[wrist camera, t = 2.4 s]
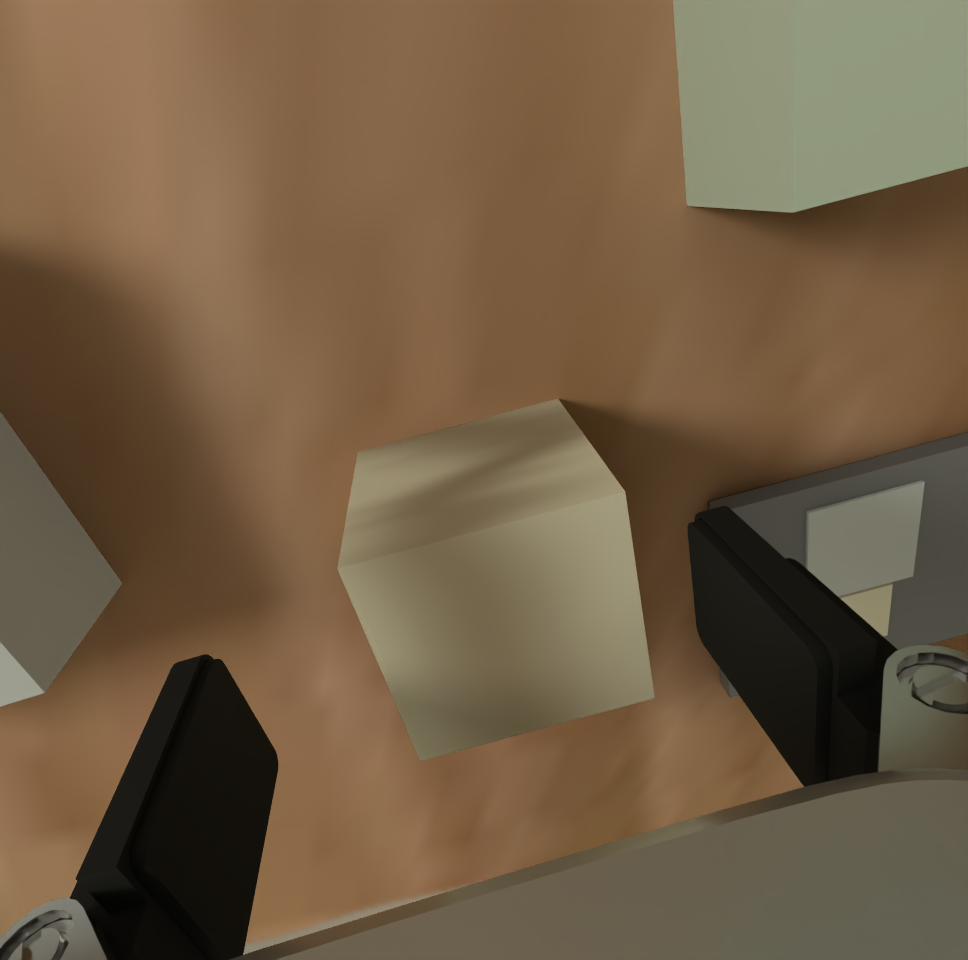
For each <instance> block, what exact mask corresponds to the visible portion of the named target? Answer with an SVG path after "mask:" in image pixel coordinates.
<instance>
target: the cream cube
mask: <svg viewBox="0 0 968 960" xmlns="http://www.w3.org/2000/svg"><path fill="white" fill-rule="evenodd" d="M337 569H338V571H339V574H340V576H341V578H342V581H343V583H344V585H345V588H346V590H347V592H348V595H349V597H350V599H351V602H352V604H353V606H354V609H355V611H356V613H357V615H358V618H359V620H360V622H361V625H362V627H363V629H364V632H365V634H366V636H367V639H368V641H369V643H370V646H371V648H372V650H373V653H374V655H375V657H376V660H377V662H378V664H379V666H380V669H381V671H382V673H383V676H384V678H385V680H386V683H387V685H388V687H389V690H390V692H391V694H392V697H393V699H394V701H395V704H396V706H397V708H398V710H399V713H400V715H401V717H402V720H403V722H404V724H405V727H406V729H407V731H408V734H409V736H410V738H411V741H412V743H413V745H414V748H415V750H416V752H417V755H418V757H419V759H420V761H422V760H426V759H430V758H434V757H437V756H441V755H445V754H448V753H452V752H456V751H460V750H463V749H467V748H471V747H475V746H478V745H482V744H486V743H489V742H493V741H497V740H501V739H504V738H508V737H512V736H516V735H519V734H523V733H527V732H530V731H534V730H538V729H542V728H545V727H549V726H553V725H557V724H560V723H564V722H568V721H571V720H575V719H579V718H583V717H586V716H590V715H594V714H598V713H601V712H605V711H609V710H612V709H616V708H620V707H624V706H627V705H631V704H635V703H639V702H642V701H646V700H650V699H653V698H655V696H654V689H653V682H652V675H651V668H650V661H649V654H648V647H647V640H646V633H645V626H644V619H643V612H642V605H641V599H640V592H639V585H638V578H637V571H636V564H635V557H634V550H633V543H632V536H631V529H630V522H629V515H628V508H627V501H626V494H625V491H624V489H623V488H622V486H621V485H620V484H619V482H618V481H617V480H616V478H615V477H614V475H613V474H612V473H611V471H610V470H609V468H608V467H607V466H606V464H605V463H604V462H603V460H602V459H601V457H600V456H599V455H598V453H597V452H596V450H595V449H594V448H593V446H592V445H591V444H590V442H589V441H588V439H587V438H586V437H585V435H584V434H583V432H582V431H581V430H580V428H579V427H578V426H577V424H576V423H575V421H574V420H573V419H572V417H571V416H570V414H569V413H568V412H567V410H566V409H565V408H564V406H563V405H562V403H561V402H560V401H559V399H554V400H550V401H546V402H543V403H539V404H535V405H531V406H528V407H524V408H520V409H516V410H513V411H509V412H505V413H502V414H498V415H494V416H490V417H487V418H483V419H479V420H475V421H472V422H468V423H464V424H460V425H457V426H453V427H449V428H446V429H442V430H438V431H434V432H431V433H427V434H423V435H419V436H416V437H412V438H408V439H404V440H401V441H397V442H393V443H390V444H386V445H382V446H378V447H375V448H371V449H367V450H363V451H360V452H358V454H357V459H356V465H355V471H354V476H353V482H352V488H351V494H350V499H349V505H348V511H347V516H346V522H345V528H344V533H343V539H342V545H341V551H340V556H339V562H338V568H337Z"/></svg>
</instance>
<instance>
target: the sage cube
mask: <svg viewBox="0 0 968 960" xmlns="http://www.w3.org/2000/svg"><path fill="white" fill-rule="evenodd" d="M673 7H674V22H675V37H676V51H677V66H678V81H679V95H680V110H681V125H682V139H683V154H684V169H685V183H686V198H687V206H697V207H713V208H728V209H744V210H760V211H775V212H791V213H794V212H797V211H801V210H805V209H809V208H812V207H816V206H820V205H824V204H827V203H831V202H835V201H839V200H843V199H846V198H850V197H854V196H858V195H861V194H865V193H869V192H873V191H876V190H880V189H884V188H888V187H892V186H895V185H899V184H903V183H907V182H910V181H914V180H918V179H922V178H925V177H929V176H933V175H937V174H940V173H944V172H948V171H952V170H956V169H959V168H963V167H967V166H968V0H673Z"/></svg>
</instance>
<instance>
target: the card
mask: <svg viewBox="0 0 968 960" xmlns="http://www.w3.org/2000/svg"><path fill="white" fill-rule="evenodd" d="M720 506H727V507H729V508H730V509H731V510H732V511H734V512H735V513H736V514H737V515H738V516H739V517H740V518H741V519H742V520H743V521H745V522H746V523H747V524H748V525H749V526H750V527H751V528H752V529H753V530H754V531H756V532H757V533H758V534H759V535H760V536H761V537H762V538H763V539H764V540H765V541H767V542H768V543H769V544H770V545H771V546H772V547H773V548H774V549H775V550H777V551H778V552H779V553H780V554H781V555H782V556H783V557H784V558H785V559H786V558H792V559H795V560H796V561H798V562H799V563H801V564H802V565H803V566H804V567H805V568H806V569H807V570H809V571H810V572H811V573H812V574H813V575H814V576H815V577H817V578H818V579H819V580H820V581H821V582H822V583H823V584H824V585H826V586H827V587H828V588H829V589H830V590H831V591H832V592H833V593H835V594H836V595H837V596H838V597H839V598H840V599H841V600H842V601H844V602H845V603H846V604H847V605H848V606H849V607H850V608H852V609H853V610H854V611H855V612H856V613H857V614H858V615H859V616H861V617H862V618H863V619H864V620H865V621H866V622H867V623H868V624H870V625H871V626H872V627H873V628H874V629H875V630H876V631H877V632H879V633H880V634H881V635H882V636H883V637H884V638H885V639H887V640H888V641H889V642H890V643H891V644H892V645H893V646H894V647H896V648H897V649H898V650H901V649H903V648H906V647H908V646H917V645H928V644H932V643H935V642H939V641H943V640H947V639H950V638H954V637H958V636H961V635H965V634H968V432H967V433H963V434H959V435H956V436H952V437H948V438H944V439H941V440H937V441H933V442H929V443H926V444H922V445H918V446H915V447H911V448H907V449H903V450H900V451H896V452H892V453H888V454H885V455H881V456H877V457H873V458H870V459H866V460H862V461H859V462H855V463H851V464H847V465H844V466H840V467H836V468H832V469H829V470H825V471H821V472H817V473H814V474H810V475H806V476H803V477H799V478H795V479H791V480H788V481H784V482H780V483H776V484H773V485H769V486H765V487H761V488H758V489H754V490H750V491H747V492H743V493H739V494H735V495H732V496H728V497H724V498H720V499H717V500H713V501H709V510H710V509H713V508H717V507H720ZM720 677H721V684H722V686H723V688H724V689H725V691H726V692H727V694H728V695H729V697H730V698H731V697H734V696H738V695H739V694H738V693H737V691H736V690H735V688H734V687H733V686H732V684H731V683H730V681H729V680H728V679H727V677H726V676H725V674H724V673H723V672H722V670H721V669H720Z"/></svg>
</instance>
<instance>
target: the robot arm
mask: <svg viewBox="0 0 968 960" xmlns="http://www.w3.org/2000/svg"><path fill="white" fill-rule="evenodd" d="M688 539H689V550H690V561H691V571H692V582H693V593H694V604H695V614H696V625H697V630H698V634H699V636H700V639H701V641H702V643H703V644H704V646H705V647H706V649H707V650H708V652H709V653H710V655H711V656H712V657H713V659H714V660H715V662H716V663H717V664H718V666H719V667H720V669H721V670H722V672H723V673H724V674H725V676H726V677H727V679H728V680H729V681H730V683H731V684H732V686H733V687H734V688H735V690H736V691H737V693H738V694H739V696H740V697H741V698H742V700H743V701H744V703H745V704H746V705H747V707H748V708H749V710H750V711H751V712H752V714H753V715H754V717H755V718H756V720H757V721H758V722H759V724H760V725H761V727H762V728H763V729H764V731H765V732H766V734H767V735H768V737H769V738H770V739H771V741H772V742H773V744H774V745H775V746H776V748H777V749H778V751H779V752H780V753H781V755H782V756H783V758H784V759H785V761H786V762H787V763H788V765H789V766H790V768H791V769H792V770H793V772H794V773H795V775H796V776H797V777H798V779H799V780H800V782H801V783H802V784H803V786H804V787H803V788H799V789H796V790H792V791H788V792H785V793H781V794H778V795H774V796H770V797H767V798H763V799H759V800H756V801H752V802H749V803H745V804H741V805H738V806H734V807H730V808H727V809H723V810H720V811H716V812H713V813H710V814H706V815H703V816H699V817H696V818H693V819H689V820H686V821H682V822H679V823H676V824H672V825H669V826H666V827H662V828H659V829H655V830H652V831H649V832H645V833H642V834H639V835H635V836H632V837H628V838H625V839H622V840H618V841H615V842H612V843H608V844H605V845H601V846H598V847H595V848H591V849H588V850H584V851H581V852H578V853H574V854H571V855H568V856H564V857H561V858H558V859H555V860H551V861H548V862H545V863H541V864H538V865H535V866H531V867H528V868H525V869H521V870H518V871H515V872H511V873H508V874H505V875H501V876H498V877H495V878H491V879H488V880H485V881H482V882H478V883H475V884H472V885H468V886H465V887H462V888H458V889H455V890H452V891H449V892H445V893H442V894H439V895H435V896H432V897H429V898H425V899H422V900H419V901H416V902H412V903H409V904H406V905H402V906H399V907H396V908H393V909H390V910H386V911H383V912H380V913H377V914H373V915H370V916H367V917H364V918H360V919H357V920H354V921H351V922H348V923H344V924H341V925H338V926H334V927H331V928H328V929H325V930H321V931H318V932H315V933H312V934H308V935H305V936H302V937H299V938H295V939H292V940H289V941H286V942H283V943H280V944H276V945H273V946H270V947H266V948H263V949H260V950H257V951H254V952H251V953H248V954H245V955H243V952H244V947H245V942H246V937H247V931H248V926H249V921H250V915H251V910H252V905H253V900H254V894H255V889H256V884H257V878H258V873H259V868H260V862H261V857H262V852H263V847H264V841H265V836H266V831H267V825H268V820H269V815H270V810H271V804H272V799H273V794H274V788H275V783H276V778H277V772H278V758H277V754H276V751H275V749H274V747H273V746H272V744H271V742H270V741H269V739H268V737H267V735H266V734H265V732H264V730H263V729H262V727H261V725H260V723H259V722H258V720H257V718H256V717H255V715H254V713H253V712H252V710H251V708H250V706H249V705H248V703H247V701H246V700H245V698H244V696H243V695H242V693H241V691H240V689H239V688H238V686H237V684H236V683H235V681H234V679H233V678H232V676H231V674H230V672H229V671H228V669H227V667H226V666H225V664H224V663H223V661H222V660H220V659H215V660H214V659H213V658H212V657H211V656H209V655H206V654H205V655H201V656H198V657H194V658H191V659H187V660H184V661H180V662H177V663H176V664H174V665H173V667H172V668H171V670H170V673H169V675H168V677H167V679H166V681H165V684H164V686H163V688H162V690H161V692H160V695H159V697H158V699H157V701H156V703H155V705H154V708H153V710H152V712H151V714H150V716H149V719H148V721H147V723H146V725H145V727H144V730H143V732H142V734H141V736H140V738H139V741H138V743H137V745H136V747H135V749H134V752H133V754H132V756H131V758H130V760H129V763H128V765H127V767H126V769H125V771H124V774H123V776H122V778H121V780H120V782H119V785H118V787H117V789H116V791H115V793H114V796H113V798H112V800H111V802H110V804H109V806H108V809H107V811H106V813H105V815H104V817H103V820H102V822H101V824H100V826H99V828H98V831H97V833H96V835H95V837H94V839H93V842H92V844H91V846H90V848H89V850H88V853H87V855H86V857H85V859H84V861H83V864H82V866H81V868H80V870H79V872H78V875H77V877H76V880H77V883H76V886H75V888H74V890H73V892H72V895H71V897H70V899H68V898H62V899H58V900H53V901H50V902H48V903H46V904H44V905H42V906H40V907H38V908H36V909H34V910H32V911H31V912H30V913H28V914H27V915H25V916H24V917H23V918H21V919H20V920H19V921H17V922H16V923H15V924H14V925H13V926H12V927H11V928H10V929H9V930H8V931H7V932H6V933H5V934H4V935H2V936H1V937H0V960H968V654H966V653H964V652H962V651H958V650H955V649H951V648H947V647H943V646H933V645H917V646H908V647H906V648H903V649H901V650H898V649H897V648H896V647H894V646H893V645H892V644H891V643H890V642H889V641H888V640H887V639H885V638H884V637H883V636H882V635H881V634H880V633H879V632H877V631H876V630H875V629H874V628H873V627H872V626H871V625H870V624H868V623H867V622H866V621H865V620H864V619H863V618H862V617H861V616H859V615H858V614H857V613H856V612H855V611H854V610H853V609H852V608H850V607H849V606H848V605H847V604H846V603H845V602H844V601H842V600H841V599H840V598H839V597H838V596H837V595H836V594H835V593H833V592H832V591H831V590H830V589H829V588H828V587H827V586H826V585H824V584H823V583H822V582H821V581H820V580H819V579H818V578H817V577H815V576H814V575H813V574H812V573H811V572H810V571H809V570H807V569H806V568H805V567H804V566H803V565H802V564H801V563H799V562H798V561H796V560H795V559H792V558H786V559H785V558H784V557H783V556H782V555H781V554H780V553H779V552H778V551H777V550H775V549H774V548H773V547H772V546H771V545H770V544H769V543H768V542H767V541H765V540H764V539H763V538H762V537H761V536H760V535H759V534H758V533H757V532H756V531H754V530H753V529H752V528H751V527H750V526H749V525H748V524H747V523H746V522H745V521H743V520H742V519H741V518H740V517H739V516H738V515H737V514H736V513H735V512H734V511H732V510H731V509H730V508H729V507H727V506H720V507H717V508H713V509H710V510H706V511H703V512H700V513H697V514H696V515H695V522H692V523H689V524H688Z"/></svg>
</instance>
